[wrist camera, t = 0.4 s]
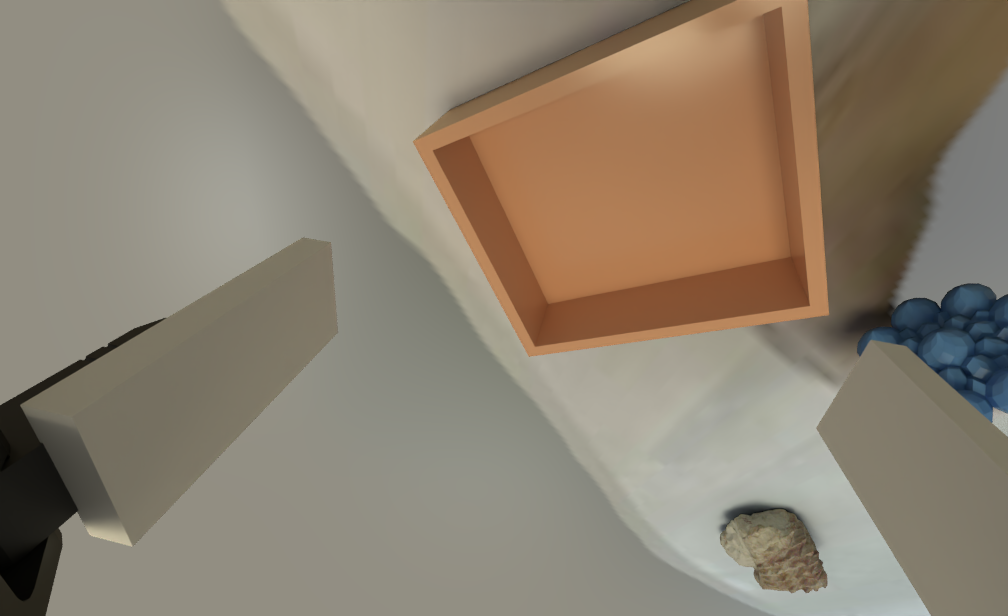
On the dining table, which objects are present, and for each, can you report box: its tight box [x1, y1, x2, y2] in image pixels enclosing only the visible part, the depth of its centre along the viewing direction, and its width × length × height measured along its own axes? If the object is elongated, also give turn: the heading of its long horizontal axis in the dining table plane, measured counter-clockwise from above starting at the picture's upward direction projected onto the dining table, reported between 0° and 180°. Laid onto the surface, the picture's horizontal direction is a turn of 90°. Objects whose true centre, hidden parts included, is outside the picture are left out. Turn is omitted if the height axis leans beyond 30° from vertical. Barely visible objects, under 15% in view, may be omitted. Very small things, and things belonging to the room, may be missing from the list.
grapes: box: [857, 284, 1008, 423], centre depth 31 cm, size 12×7×12 cm, turn 133°
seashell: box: [720, 509, 827, 593], centre depth 56 cm, size 14×9×10 cm
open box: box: [413, 0, 829, 357], centre depth 32 cm, size 22×20×7 cm
